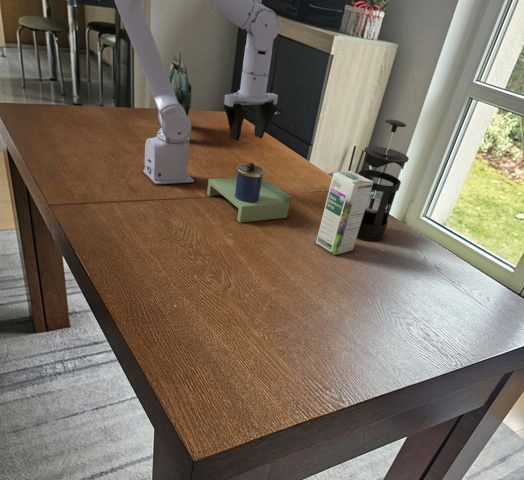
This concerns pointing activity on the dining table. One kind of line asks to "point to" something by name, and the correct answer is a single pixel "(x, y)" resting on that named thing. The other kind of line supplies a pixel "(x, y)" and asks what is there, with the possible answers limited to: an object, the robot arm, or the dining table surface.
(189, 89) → the green leafy plant
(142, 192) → the dining table surface
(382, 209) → the french press
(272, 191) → the shelf
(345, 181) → the syrup box
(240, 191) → the pot
